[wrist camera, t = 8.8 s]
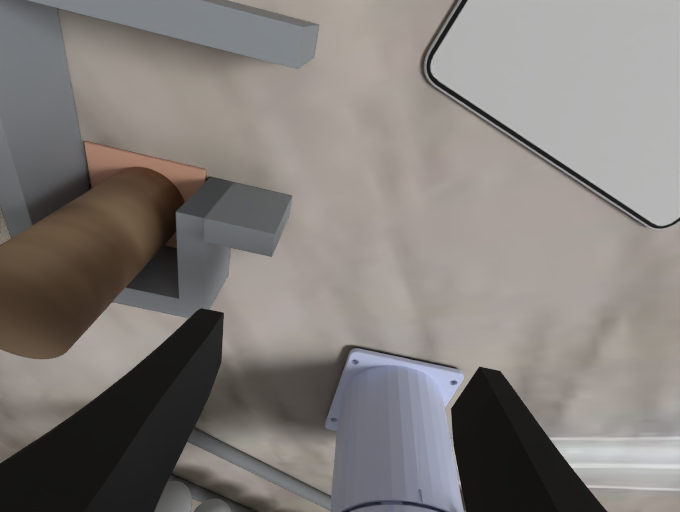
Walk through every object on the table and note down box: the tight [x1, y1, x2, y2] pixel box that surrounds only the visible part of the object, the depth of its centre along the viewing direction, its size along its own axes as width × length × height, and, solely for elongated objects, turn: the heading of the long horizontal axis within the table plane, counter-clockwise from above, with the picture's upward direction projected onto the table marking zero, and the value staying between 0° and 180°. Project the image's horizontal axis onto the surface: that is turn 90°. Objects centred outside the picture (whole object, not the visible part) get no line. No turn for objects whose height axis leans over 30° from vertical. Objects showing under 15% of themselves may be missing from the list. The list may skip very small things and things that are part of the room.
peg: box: [0, 167, 185, 359], centre depth 16 cm, size 4×4×9 cm
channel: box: [0, 0, 319, 318], centre depth 17 cm, size 14×12×4 cm
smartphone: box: [424, 0, 680, 230], centre depth 15 cm, size 7×1×15 cm
